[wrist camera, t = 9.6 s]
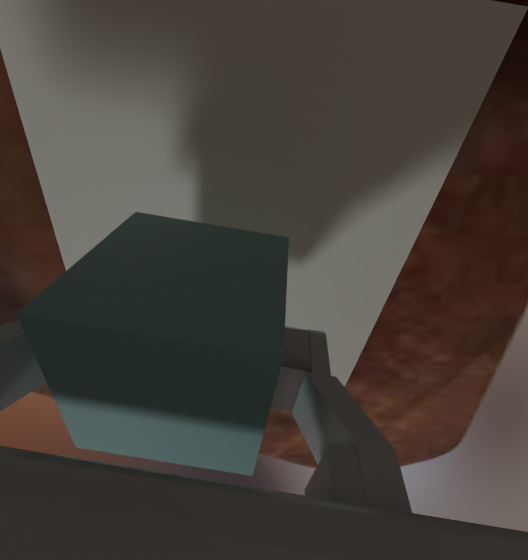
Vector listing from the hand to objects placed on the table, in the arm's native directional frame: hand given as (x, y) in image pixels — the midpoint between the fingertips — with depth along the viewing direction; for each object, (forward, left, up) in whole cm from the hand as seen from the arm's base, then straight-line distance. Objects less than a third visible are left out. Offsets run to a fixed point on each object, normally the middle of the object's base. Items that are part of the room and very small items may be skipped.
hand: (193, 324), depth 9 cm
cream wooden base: (0, 0, -8) cm, 8 cm away
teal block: (0, 0, -2) cm, 2 cm away
